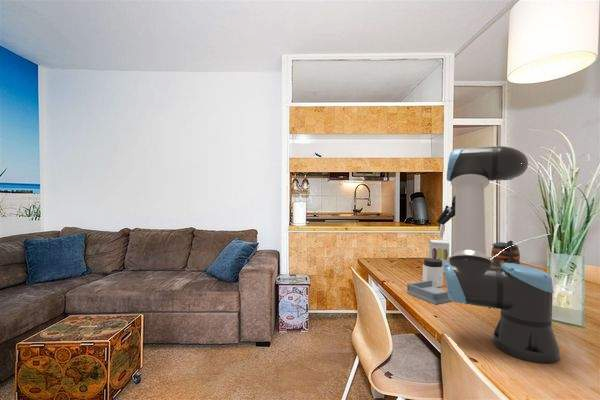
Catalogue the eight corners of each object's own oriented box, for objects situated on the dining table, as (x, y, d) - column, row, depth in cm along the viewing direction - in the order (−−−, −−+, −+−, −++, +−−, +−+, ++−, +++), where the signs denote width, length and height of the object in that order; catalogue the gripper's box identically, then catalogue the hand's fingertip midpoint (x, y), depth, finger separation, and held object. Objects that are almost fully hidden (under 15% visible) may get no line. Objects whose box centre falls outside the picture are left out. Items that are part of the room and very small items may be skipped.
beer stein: (530, 282, 151) (531, 242, 151) (497, 279, 155) (498, 240, 155) (515, 272, 169) (515, 236, 169) (485, 270, 173) (486, 235, 173)
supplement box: (430, 271, 170) (430, 241, 169) (428, 267, 179) (428, 239, 178) (449, 273, 167) (449, 242, 167) (446, 269, 176) (446, 240, 175)
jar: (435, 288, 140) (435, 262, 140) (419, 284, 147) (419, 259, 147) (446, 285, 145) (446, 260, 145) (430, 281, 152) (430, 257, 152)
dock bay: (459, 299, 126) (459, 289, 126) (435, 304, 120) (435, 294, 120) (430, 288, 140) (430, 280, 140) (407, 293, 134) (407, 284, 134)
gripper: (491, 200, 141) (482, 244, 139) (444, 199, 163) (435, 237, 161) (482, 195, 138) (473, 240, 135) (435, 194, 160) (426, 233, 157)
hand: (452, 239), depth 148 cm, fingers open, 13 cm apart
